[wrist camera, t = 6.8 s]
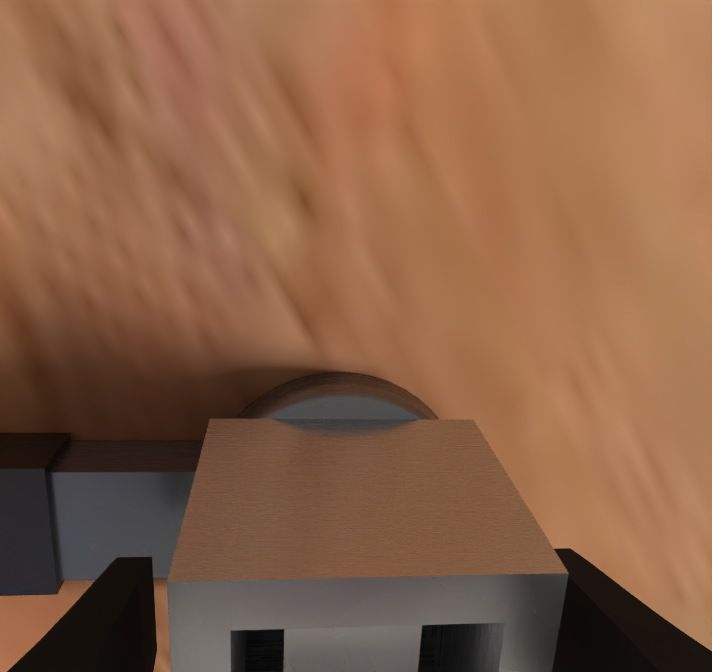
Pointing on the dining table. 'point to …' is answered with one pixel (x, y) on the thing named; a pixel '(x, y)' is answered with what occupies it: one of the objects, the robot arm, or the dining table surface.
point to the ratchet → (172, 511)
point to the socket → (360, 546)
